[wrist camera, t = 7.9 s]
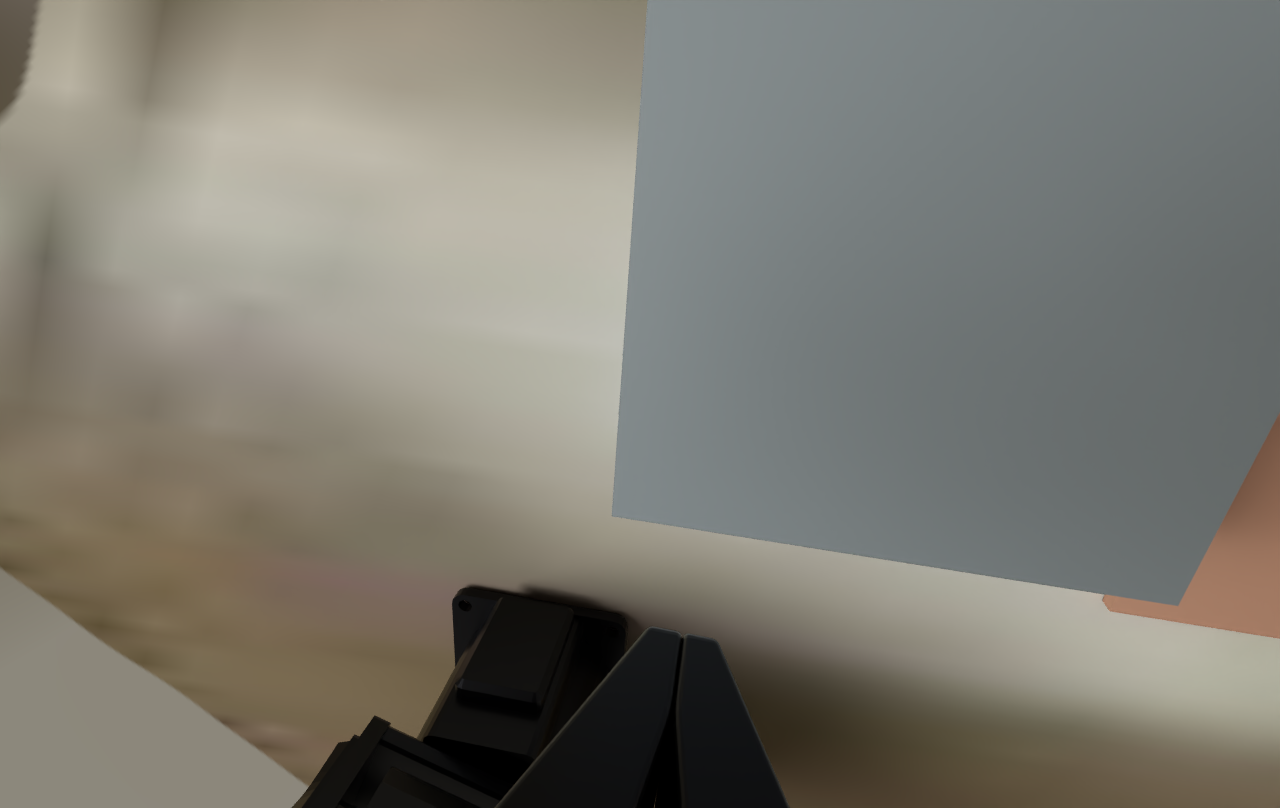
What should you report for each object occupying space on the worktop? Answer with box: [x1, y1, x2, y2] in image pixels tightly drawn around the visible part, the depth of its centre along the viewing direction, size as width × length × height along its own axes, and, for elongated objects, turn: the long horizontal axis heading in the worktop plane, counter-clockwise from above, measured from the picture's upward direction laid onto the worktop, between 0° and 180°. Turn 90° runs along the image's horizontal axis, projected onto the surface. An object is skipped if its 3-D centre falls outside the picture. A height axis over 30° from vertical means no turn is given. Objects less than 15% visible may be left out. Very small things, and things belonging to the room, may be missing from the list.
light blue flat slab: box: [612, 0, 1280, 606], centre depth 16 cm, size 14×14×4 cm
